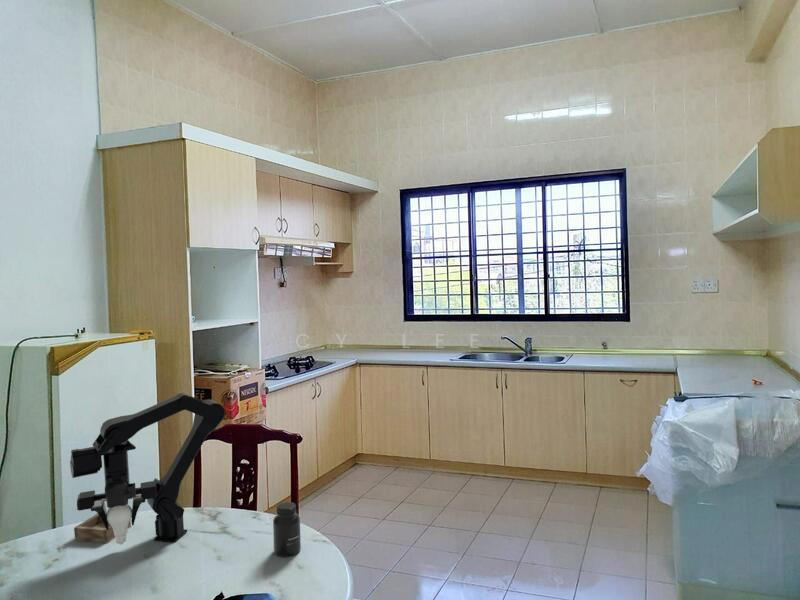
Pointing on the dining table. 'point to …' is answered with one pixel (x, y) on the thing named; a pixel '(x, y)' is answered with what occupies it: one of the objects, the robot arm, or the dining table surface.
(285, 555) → the supplement bottle
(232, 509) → the dining table surface
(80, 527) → the brown square tray
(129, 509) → the lightbulb
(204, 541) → the dining table surface
